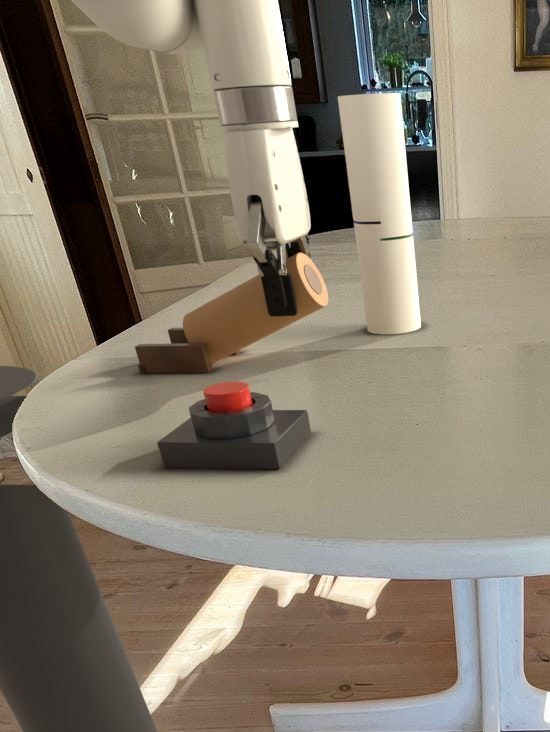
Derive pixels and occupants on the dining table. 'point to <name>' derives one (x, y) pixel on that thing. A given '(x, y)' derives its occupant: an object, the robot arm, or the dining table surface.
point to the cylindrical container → (381, 210)
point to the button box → (236, 437)
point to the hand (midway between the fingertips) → (293, 307)
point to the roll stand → (174, 355)
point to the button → (227, 397)
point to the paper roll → (253, 311)
